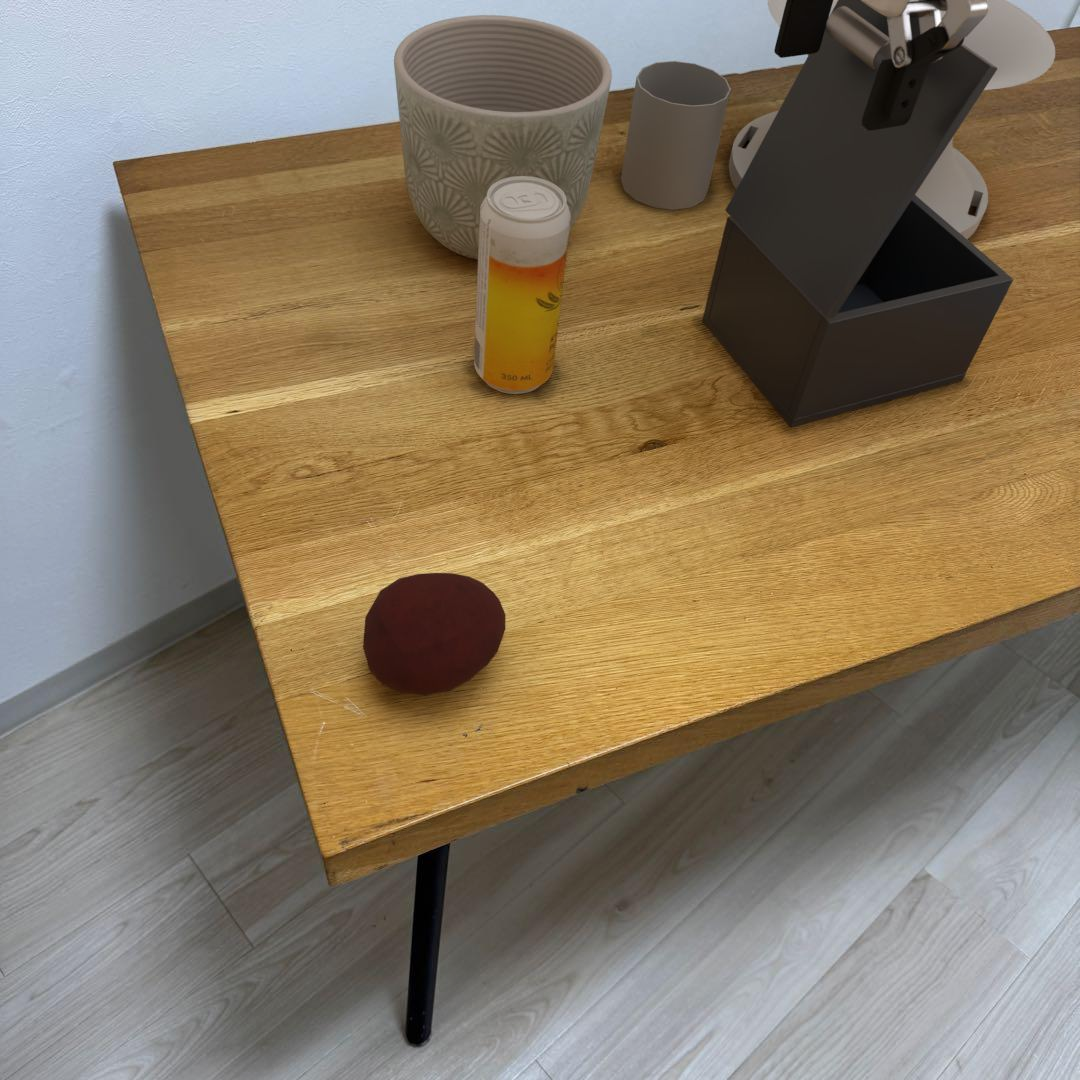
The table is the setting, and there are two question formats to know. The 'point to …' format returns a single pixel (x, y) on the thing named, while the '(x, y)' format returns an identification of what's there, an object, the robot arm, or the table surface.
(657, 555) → the table surface
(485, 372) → the beer can
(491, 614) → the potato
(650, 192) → the cup
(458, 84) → the planter
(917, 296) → the open box
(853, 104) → the box lid
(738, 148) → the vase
